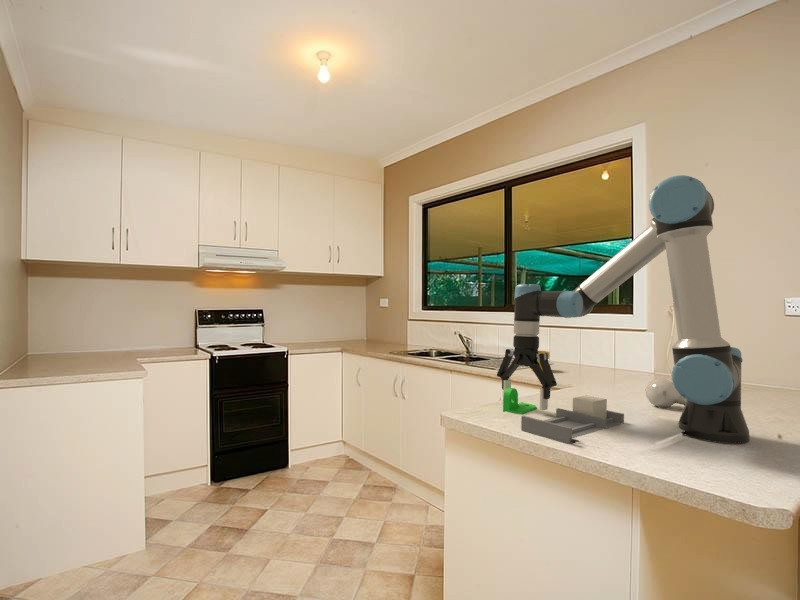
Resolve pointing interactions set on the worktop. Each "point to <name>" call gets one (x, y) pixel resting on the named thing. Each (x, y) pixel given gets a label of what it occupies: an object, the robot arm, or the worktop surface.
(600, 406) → the block
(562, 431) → the grey rail frame
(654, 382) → the potion bottle
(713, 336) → the robot arm
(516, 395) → the mechanical part
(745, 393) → the worktop surface
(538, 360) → the plant pot
